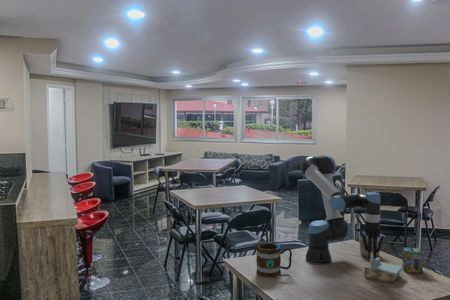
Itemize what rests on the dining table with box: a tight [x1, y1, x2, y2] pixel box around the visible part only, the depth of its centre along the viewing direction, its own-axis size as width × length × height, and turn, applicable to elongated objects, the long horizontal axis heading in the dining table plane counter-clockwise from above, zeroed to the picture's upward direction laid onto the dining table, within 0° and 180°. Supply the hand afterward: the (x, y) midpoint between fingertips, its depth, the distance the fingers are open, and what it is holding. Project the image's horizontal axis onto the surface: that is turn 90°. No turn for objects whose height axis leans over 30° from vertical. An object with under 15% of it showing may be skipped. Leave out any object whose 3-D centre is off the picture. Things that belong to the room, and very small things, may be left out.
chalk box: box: [401, 242, 424, 274], centre depth 216 cm, size 9×9×15 cm
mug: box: [256, 242, 293, 279], centre depth 213 cm, size 20×14×15 cm
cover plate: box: [370, 256, 403, 276], centre depth 206 cm, size 13×12×4 cm
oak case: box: [363, 261, 401, 284], centre depth 208 cm, size 14×14×5 cm
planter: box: [358, 235, 380, 259], centre depth 241 cm, size 13×13×10 cm
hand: (372, 264), depth 211 cm, fingers closed
